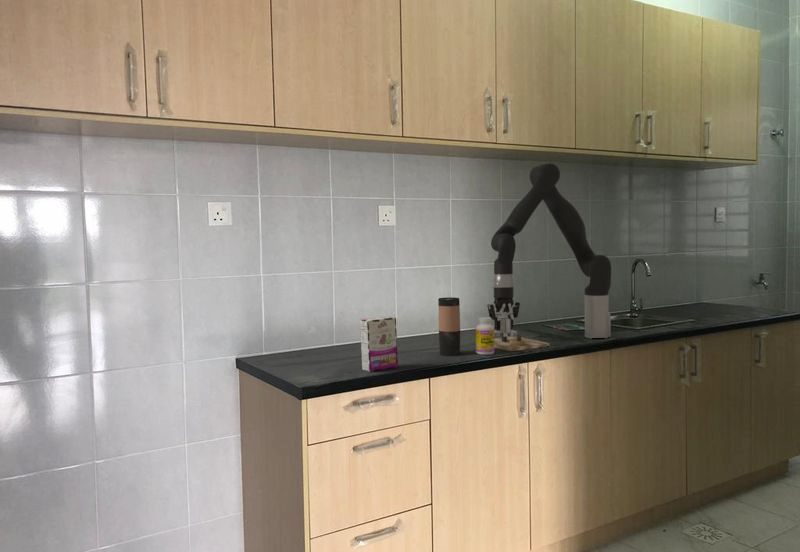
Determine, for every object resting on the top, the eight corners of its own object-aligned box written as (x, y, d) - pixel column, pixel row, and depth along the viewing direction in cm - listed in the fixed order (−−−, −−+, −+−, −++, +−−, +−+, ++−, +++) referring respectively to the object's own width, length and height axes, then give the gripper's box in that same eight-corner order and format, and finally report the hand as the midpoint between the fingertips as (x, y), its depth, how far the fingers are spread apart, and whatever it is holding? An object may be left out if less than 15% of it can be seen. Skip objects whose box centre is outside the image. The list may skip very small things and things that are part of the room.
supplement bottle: (479, 355, 224) (478, 319, 223) (473, 352, 230) (472, 317, 229) (497, 354, 225) (496, 318, 224) (490, 351, 231) (490, 316, 231)
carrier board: (514, 339, 258) (514, 324, 257) (549, 346, 239) (549, 331, 239) (477, 343, 249) (477, 328, 249) (510, 351, 231) (510, 335, 230)
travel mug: (464, 353, 229) (463, 297, 228) (454, 356, 223) (452, 299, 221) (446, 351, 233) (444, 297, 232) (435, 355, 227) (434, 299, 226)
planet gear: (506, 332, 252) (506, 316, 252) (522, 335, 243) (522, 319, 243) (485, 334, 248) (485, 318, 247) (501, 337, 239) (500, 321, 238)
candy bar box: (389, 365, 211) (388, 315, 210) (398, 367, 207) (397, 317, 206) (360, 370, 204) (359, 319, 203) (369, 372, 200) (368, 320, 199)
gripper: (512, 284, 251) (513, 327, 252) (482, 286, 244) (482, 330, 245) (524, 285, 244) (525, 329, 245) (493, 287, 238) (494, 332, 239)
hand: (503, 329), depth 245 cm, fingers closed on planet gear, 5 cm apart
